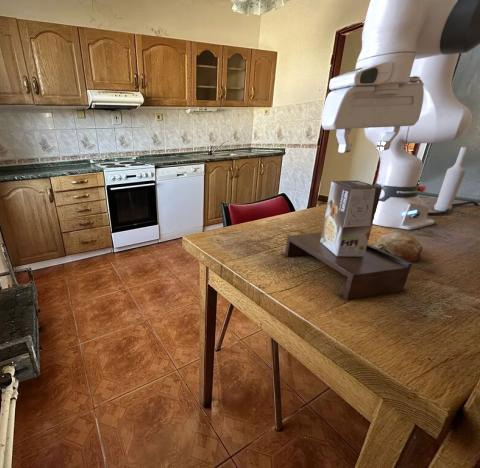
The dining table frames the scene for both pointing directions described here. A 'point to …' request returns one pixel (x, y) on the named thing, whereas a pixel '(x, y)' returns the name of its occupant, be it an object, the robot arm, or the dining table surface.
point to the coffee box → (349, 217)
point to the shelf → (356, 266)
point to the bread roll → (400, 246)
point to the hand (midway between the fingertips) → (363, 151)
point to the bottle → (451, 183)
